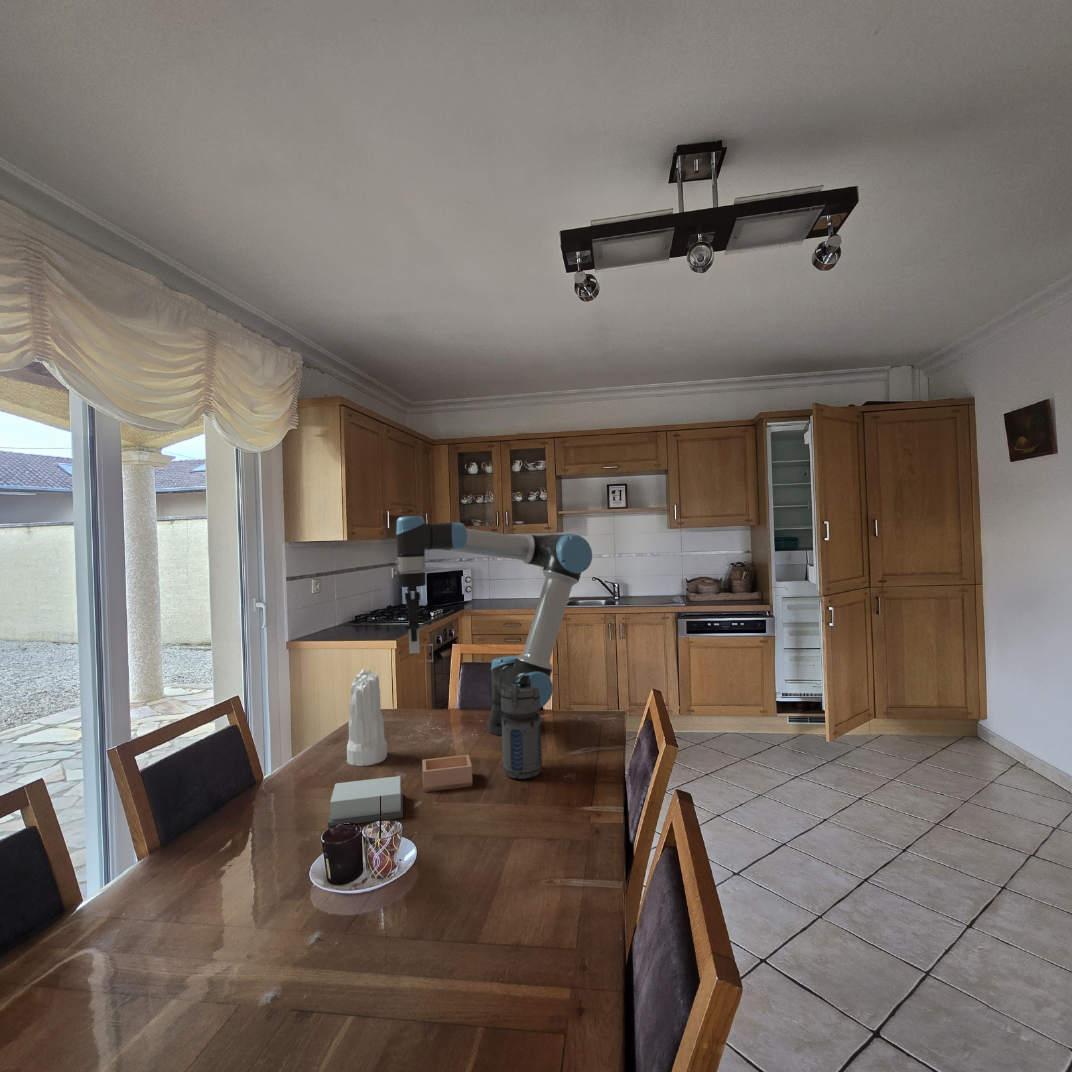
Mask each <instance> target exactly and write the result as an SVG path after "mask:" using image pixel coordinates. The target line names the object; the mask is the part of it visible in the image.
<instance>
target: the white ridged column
mask: <svg viewBox="0 0 1072 1072" xmlns="http://www.w3.org/2000/svg"><path fill="white" fill-rule="evenodd" d="M379 678H380V677H379V674H378V673H377V672H375V673H374V672H372V671H371V669H369V670H367V671H366V668H363V669H361V671H360V672H358V673H357V674H356V676H355V677H354V678H353V682H352V684H351V688H350V695H351V696H350V701H349V718H348V741H347V745H346V761H347V762H346V763H347V764H348V765H350V766H355V767H365V766H373V765H375V764H380V763H381V762H383V761H384V760H386V759H387V756H388V747H387V745H388V744H387V743H388V742H387V740H386V738H385V728H384V727H385V726H384V725H385V723H384V716H383V714H382V709H381V706H382V705H381V689H380V679H379Z"/></svg>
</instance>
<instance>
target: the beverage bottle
mask: <svg viewBox="0 0 1072 1072" xmlns="http://www.w3.org/2000/svg"><path fill="white" fill-rule="evenodd" d="M518 684H520V686H518ZM503 688H504V687H502V689H501V710H502V711H503V713H504V714H505V715H504V716H503V717H502V736H501V742H502V770H503V772H504V774H505V776H507V777H509V778H512V779H515V778H516V780H527V778H528V779H531V778H534V777H537V776H538V775H539V774H540V773H541V771H542V767H543V763H542V739H541V738H542V736H541V735H542V734H541V732H542V730H541V728H542V727H541V716H540V714H538V712H539V711H540V709H541V708H540V696H539V690H538V688H533V687H531V684H530V678H529V676H528V675H524V676H522V677H521V678H520V681H519V682H512V687H509V688H507V689H505V690H504V689H503Z"/></svg>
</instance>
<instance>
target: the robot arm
mask: <svg viewBox="0 0 1072 1072" xmlns="http://www.w3.org/2000/svg"><path fill="white" fill-rule="evenodd" d="M395 536H396V550H397V551H396V555H397V560H395V563H394V564H396V565H397V571H398V572H399V573H398V574H397V585H398V587H399V588H406V591H407V592H405V593H404V600H405V602H406V603H405V604H406V609H407V610H408V612H407V613H408V614H407V620H408V623H407V624H408V625H406V626H405V628H406V629H405V630H407V631H408V652H409V653H408V654H409V655H411V654H420V653H421V649H420V646H421V645H420V628H419V627H420V624H419V621H420V620H421V618H420V616H419V608H420V600H421V599H420V598H421V595H420V592H418V591H417V588H418V587H425V586H426V584H427V581H426V578H427V576H426V575H427V574H426V573H425V572H424V571H426V556H425V555H426V554H425V553H426V551H427V550H428V551H430V550H431V551H432V550H441V551H449V552H450V551H451V552H456V553H458V552H459V553H466V554H474V555H481V556H489V557H497V558H503V559H512V560H519V561H522V562H523V563H524V564H527V565H533V566H537V567H541V568H543V569H542V573H543V575H544V576H545V579H544V583H543V585H542V587H541V588H542V589H541V592H540V595H539V598H538V601H537V605H536V609H535V612H534V615H533V618H532V622H531V625H530V627H529V631H528V634H527V637H526V641H525V644H524V647H523V651H522V652H521V654H519V655H510V656H500V657H496V658H494V659H492V661H491V668H490V672H491V674H490V675H491V696H492V697H491V698H492V707H491V710H490V714H489V718H488V719H487V731H488V732H489V733H490V734H492V735H496V736H500V737H502V717H503V716H504V715H505V714H504V713H503V711H502V710H501V689H502V687H504V688H503V689H504V690H505V689H507V688H509V687H512V682H519V681H520V678H521V677H522V676H524V675H528V676H529V678H530V684H531V687H533V688H538V690H539V696H540V709H542V707H544V706H545V705H546V704H547V703H548V702H550V701H549V700H550V699H551V697H552V694H553V691H554V688H553V686H554V685H553V683H552V680H551V676H552V672H553V669H554V668H553V665H552V664H551V658H552V655H553V652H554V648H555V645H556V643H557V642H556V640H557V638H558V634H559V631H560V628H561V625H562V621H563V618H564V614H565V611H566V608H567V604H568V601H569V599H570V598H569V597H570V595H571V592H572V591H571V590H572V587H574V586H575V585H576V584H578V583H579V581H580V579H581V576H582V573H583V572H585V571H586V570H588V569H589V567H590V566H591V563H592V562H593V561H592V559H593V551H592V547H591V546H590V544H589V541H588V540H586V538H584V537H583V536H581V535H578V534H573V533H565V534H562V533H561V534H546V535H545V534H543V535H535V534H527V535H526V536H521V535H520V536H519V535H515V534H506V533H499V532H493V531H487V530H486V531H485V530H479V529H472V528H466V526H465V524H464V523H463V522H454V521H452V522H436V523H435V522H433V523H432V522H431V523H427V522H425V519H424V517H423V516H421V515H419V516H409V515H408V516H400V517H398V518H397V520H396V532H395ZM518 686H520V684H518Z"/></svg>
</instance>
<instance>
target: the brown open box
mask: <svg viewBox="0 0 1072 1072" xmlns="http://www.w3.org/2000/svg"><path fill="white" fill-rule="evenodd" d="M470 758H471V757H470V754H464V755H455V756H454V755H453V756H445V757H436V758H427V759H422V760H421V763H422V768H421V769H422V787H423V792H424V793H428V792H436V791H444V790H452V789H460V788H467V787H468V788H469V787H473V766H472V762H471V759H470Z"/></svg>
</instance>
